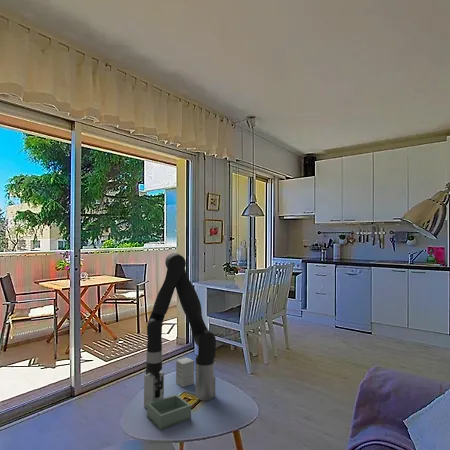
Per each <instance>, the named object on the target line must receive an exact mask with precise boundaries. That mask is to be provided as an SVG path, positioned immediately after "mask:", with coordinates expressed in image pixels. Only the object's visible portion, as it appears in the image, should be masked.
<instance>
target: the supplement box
mask: <svg viewBox="0 0 450 450" xmlns="http://www.w3.org/2000/svg"><path fill="white" fill-rule="evenodd" d="M175 367H176V368H175V383H176V384H177V385H179V386H180V387H182V388H185V387H187V386H188V387H189V386H191V385H193V384H195V361H194V360H193V359H191V358H189V357H182V358H179V359H176V361H175Z"/></svg>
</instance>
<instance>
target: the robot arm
mask: <svg viewBox="0 0 450 450" xmlns="http://www.w3.org/2000/svg"><path fill="white" fill-rule="evenodd" d="M164 264H165V267H166V274H165V278H164V281H163V284H162V285H161V287H160V289H159V291H158V293H157V295H156V298H155V300H154V301H155V302H154V304H153V306H152V311H151V314H150V315H149V318H148V321H147V324H146V335H147V337H146V338H147V339H146V341H147V342H146V354H145V355H146V360H145V362H146V363H145V375H146V374H148V373H151V374H153V375H154V376H155V379H157V383H155V384H154V385H155V397H156V398H159V397H160V390H161V389H163V376H161V377H160V374H159V372H160V371H161V372H162V370H163V351H162V350H163V341H162V336H163V335H162V333H163V322H164V320H165V316H166V314H167V312H168V310H169V306H170V304H171V301H172V298H173V295H174V291H175V290H176V294H177V296H178V299H179V303H180V305H181V308H182V310H183V313H184V315H185V318H186V319H187V321H188V323H189V326H190V331H191V333H192V337H193V341H194V343H195V344H196V346H197V348H198V350H197V351H198V352H197V355H196V356H195V383H194V384H195V385H194V386H195V390H194V392H195V396H196V397H195V399H196V398H198V399H200V400H199V401H201V400H202V401H203V402H205V401H207V402H208V401H210V400H212V399H213V398H214V397H216V376H215V358H216V350H217V348H216V347H217V339H216V336H215V334H214V333H213V332H211V331H210V330H209V329H208V327H207V326H206V323H205V321H204V319H203V314H202V313H203V312H202V304H201V301H200V298H199V296H198V293H197V291H196V289H195V287H194V286H193V283H192V282H191V280H190V279H189V276H188V274H187V271H186V265H187V262H186V259H185V258H184V256H183V255H182V254H179V253H177V252H174V253H173V252H172V253H170V254H168V255H167V256H166V258H165V263H164ZM198 399H197V400H198Z"/></svg>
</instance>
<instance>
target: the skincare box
mask: <svg viewBox="0 0 450 450" xmlns="http://www.w3.org/2000/svg"><path fill="white" fill-rule="evenodd" d="M159 374H160V377H161V376H163V389H161V390H160V397H159V398H156V397H155V385H154V384H155V383H157V379H155V376H154V375H153V374H151V373H148V374H146V373H145V375H144V376H143V381H144V383H143V384H144V385H143V407H144V408H147V404H148V403H151V402H154V401H157V400H160V399H163V398H165V392H164V391H165V377H164V376H165V372H164V371H162V370H161V371H160V372H159Z"/></svg>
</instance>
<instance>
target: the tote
mask: <svg viewBox="0 0 450 450" xmlns="http://www.w3.org/2000/svg"><path fill="white" fill-rule="evenodd" d="M146 418H147V419H148V420H149V421H150V422H151V423H152V424H153V425H154V426H155V427H156V428H157V429H158V430H159V431H160V432H161V431H164V430H165V429H168V428H171V427H174V426H176V425H179V424H182V423H184V422H187V421H189V420H191V419H192V405H191V404H190V403H189V402H188V401H186V400H185V399H183V397H181V396H179V395H178V394H173V395H170V396H167V397H164V398H163V399H160V400H157V401H154V402H151V403H148V404H147V407H146Z"/></svg>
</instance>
